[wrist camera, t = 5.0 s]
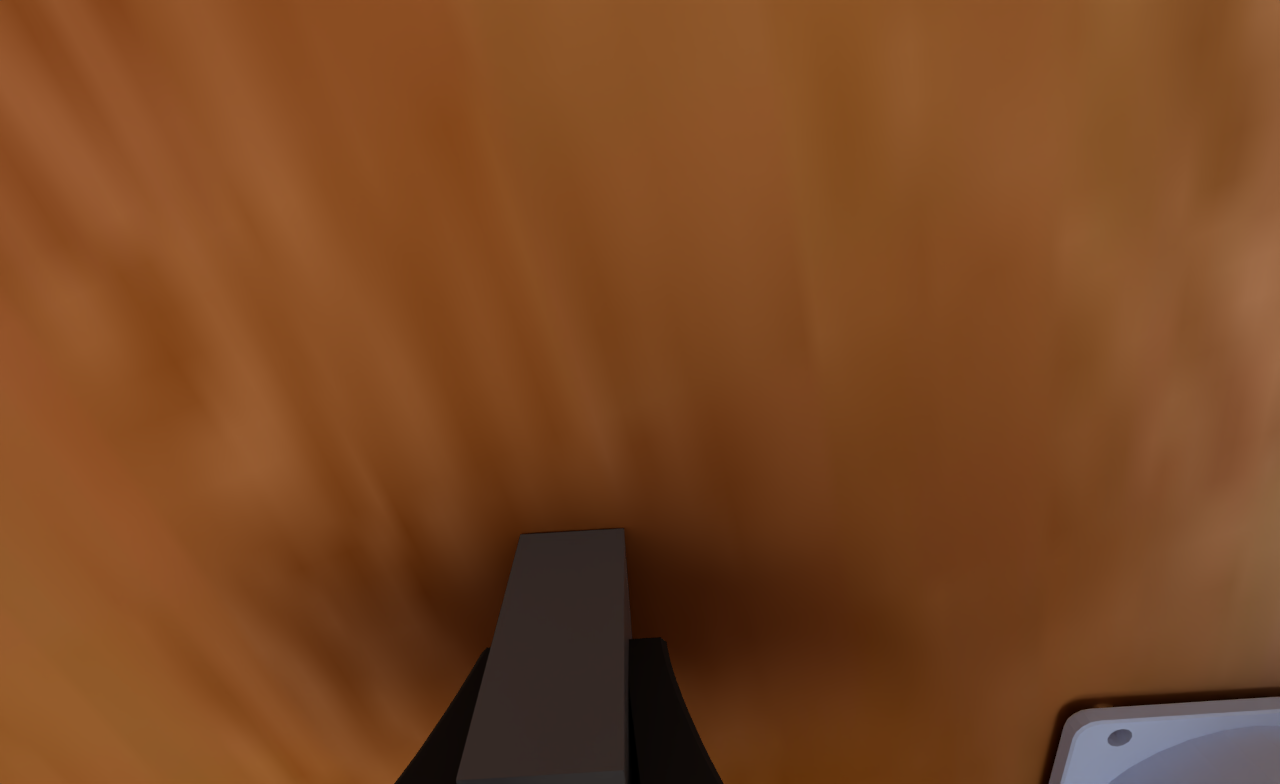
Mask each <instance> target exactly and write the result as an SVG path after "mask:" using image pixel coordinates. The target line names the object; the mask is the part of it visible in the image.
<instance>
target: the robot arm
mask: <svg viewBox="0 0 1280 784" xmlns="http://www.w3.org/2000/svg"><path fill="white" fill-rule="evenodd" d="M490 648H491V647H489V648H486V649H485V650H484V651H483V652H482V653H481V655H480V657H479V658H478V660H477V662H476V664H475V665H474V667H473V669H472V670H471V672H470V674H469V675H468V677H467V679H466V680H465V682H464V683H463V685H462V687H461V688H460V690H459V691H458V693H457V695H456V696H455V698H454V699H453V701H452V702H451V704H450V705H449V707H448V709H447V710H446V712H445V713H444V715H443V716H442V718H441V719H440V721H439V722H438V724H437V725H436V726H435V728H434V729H433V731H432V732H431V734H430V735H429V737H428V738H427V740H426V741H425V743H424V744H423V746H422V747H421V748H420V750H419V751H418V753H417V754H416V756H415V757H414V758H413V760H412V761H411V762H410V764H409V765H408V766H407V768H406V769H405V770H404V772H403V773H402V774H401V776H400V777H399V778H398V780H397V781H396V782H395V784H457V783H456V778H457V774H458V770H459V766H460V763H461V759H462V755H463V751H464V747H465V744H466V740H467V736H468V732H469V728H470V725H471V721H472V717H473V713H474V709H475V706H476V702H477V698H478V694H479V690H480V687H481V683H482V679H483V675H484V671H485V667H486V664H487V660H488V656H489V652H490ZM628 685H629V697H630V709H631V722H632V734H633V746H634V759H635V771H636V783H637V784H723V782H722V780H721V778H720V776H719V774H718V773H717V771H716V769H715V767H714V765H713V763H712V761H711V759H710V757H709V755H708V753H707V751H706V749H705V747H704V745H703V743H702V741H701V738H700V736H699V734H698V732H697V730H696V727H695V725H694V723H693V721H692V719H691V716H690V714H689V712H688V709H687V707H686V705H685V702H684V700H683V697H682V694H681V692H680V689H679V686H678V683H677V681H676V678H675V675H674V672H673V668H672V665H671V661H670V657H669V653H668V648H667V642H666V641H664V640H663V639H662V638H661V637H659V638H642V639H629V679H628ZM1049 784H1280V696H1279V697H1263V698H1248V699H1232V700H1216V701H1201V702H1185V703H1169V704H1154V705H1138V706H1122V707H1107V708H1091V709H1084V710H1080V711H1078V712H1076V713H1074V714H1072V715H1071V716H1070V717H1069V718H1068V719H1067V721H1066V723H1065V725H1064V727H1063V731H1062V735H1061V739H1060V743H1059V746H1058V750H1057V754H1056V758H1055V761H1054V765H1053V769H1052V773H1051V777H1050V780H1049Z"/></svg>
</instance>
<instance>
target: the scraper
mask: <svg viewBox="0 0 1280 784" xmlns="http://www.w3.org/2000/svg"><path fill="white" fill-rule="evenodd" d="M629 639H632V628H631V614H630V601H629V588H628V575H627V561H626V548H625V535H624V528H621V529H605V530H588V531H571V532H555V533H538V534H521V535H520V538H519V542H518V546H517V550H516V553H515V557H514V561H513V565H512V569H511V572H510V576H509V580H508V584H507V588H506V591H505V595H504V599H503V603H502V607H501V610H500V614H499V618H498V622H497V626H496V629H495V633H494V637H493V641H492V645H491V648H490V652H489V656H488V660H487V664H486V667H485V671H484V675H483V679H482V683H481V687H480V690H479V694H478V698H477V702H476V706H475V709H474V713H473V717H472V721H471V725H470V728H469V732H468V736H467V740H466V744H465V747H464V751H463V755H462V759H461V763H460V766H459V770H458V774H457V778H456V783H457V784H637V783H636V771H635V759H634V746H633V734H632V722H631V709H630V697H629V685H628V679H629Z"/></svg>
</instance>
